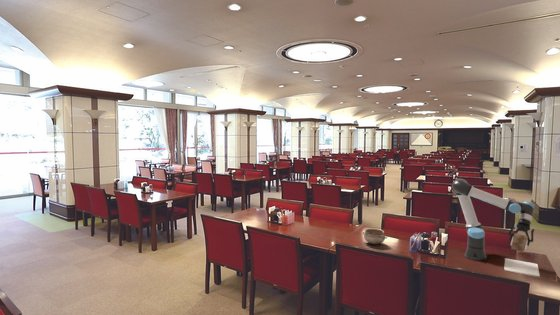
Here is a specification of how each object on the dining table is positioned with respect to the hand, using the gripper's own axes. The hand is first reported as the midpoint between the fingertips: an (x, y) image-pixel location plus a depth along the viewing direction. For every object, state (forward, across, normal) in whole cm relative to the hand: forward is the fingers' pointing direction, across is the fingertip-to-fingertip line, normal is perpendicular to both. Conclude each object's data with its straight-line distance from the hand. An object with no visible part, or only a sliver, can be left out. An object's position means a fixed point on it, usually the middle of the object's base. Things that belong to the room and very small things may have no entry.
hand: (518, 247), depth 234 cm
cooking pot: (+38, +101, +4) cm, 108 cm away
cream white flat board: (+13, -4, -6) cm, 15 cm away
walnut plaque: (0, 0, -5) cm, 5 cm away
